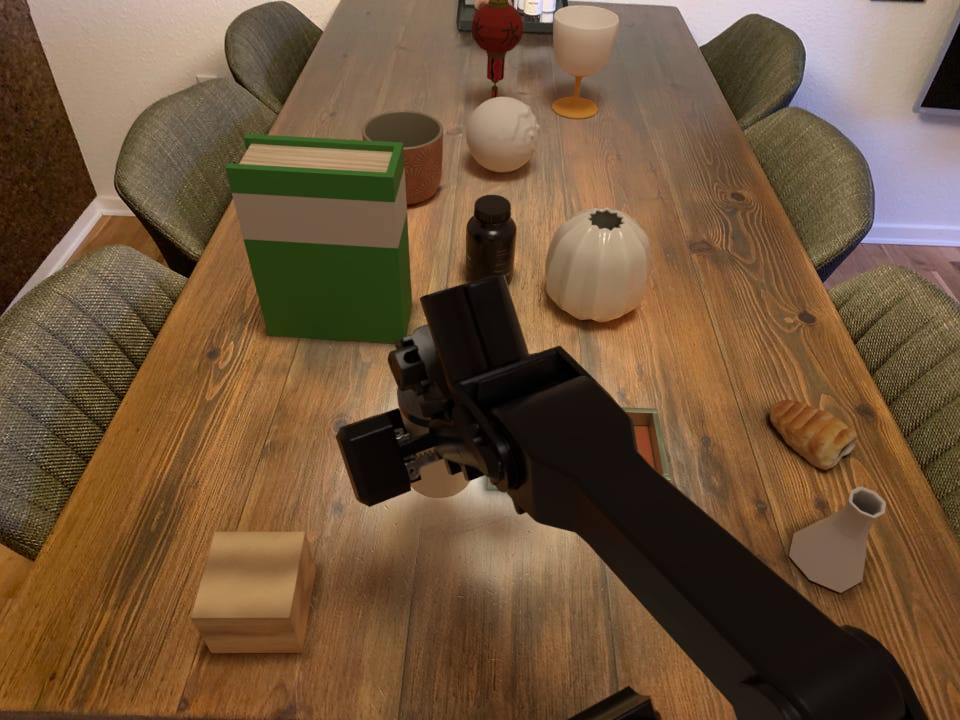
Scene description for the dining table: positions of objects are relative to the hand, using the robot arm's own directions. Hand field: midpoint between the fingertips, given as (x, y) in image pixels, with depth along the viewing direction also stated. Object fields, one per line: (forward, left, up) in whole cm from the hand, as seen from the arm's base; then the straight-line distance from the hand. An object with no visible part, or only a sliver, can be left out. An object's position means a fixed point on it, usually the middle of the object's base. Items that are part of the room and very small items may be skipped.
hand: (432, 424), depth 64 cm
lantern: (+88, +24, -14) cm, 92 cm away
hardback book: (+22, +22, -14) cm, 35 cm away
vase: (+38, -8, -14) cm, 41 cm away
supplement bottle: (+38, +7, -14) cm, 41 cm away
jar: (-1, -1, -5) cm, 5 cm away
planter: (+54, +27, -14) cm, 62 cm away
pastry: (+23, -37, -14) cm, 46 cm away
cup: (+94, +9, -14) cm, 96 cm away
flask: (+8, -39, -14) cm, 42 cm away
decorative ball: (+67, +15, -14) cm, 71 cm away
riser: (-16, +10, -14) cm, 23 cm away
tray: (+12, -12, -14) cm, 21 cm away
